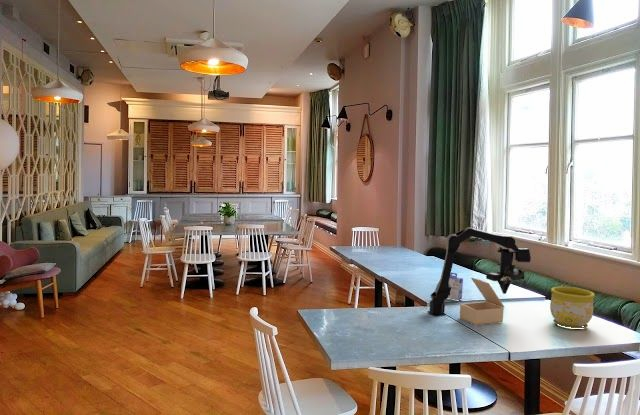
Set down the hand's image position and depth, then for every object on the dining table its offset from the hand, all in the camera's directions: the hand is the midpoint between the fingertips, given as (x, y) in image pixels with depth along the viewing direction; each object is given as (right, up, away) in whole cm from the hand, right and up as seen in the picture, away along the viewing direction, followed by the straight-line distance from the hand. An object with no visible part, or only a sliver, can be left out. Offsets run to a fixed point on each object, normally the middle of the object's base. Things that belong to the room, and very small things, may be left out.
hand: (504, 293), depth 238 cm
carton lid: (-10, +1, -4) cm, 10 cm away
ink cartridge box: (-17, -9, +32) cm, 37 cm away
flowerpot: (+27, -14, -8) cm, 32 cm away
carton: (-13, -12, -4) cm, 18 cm away
